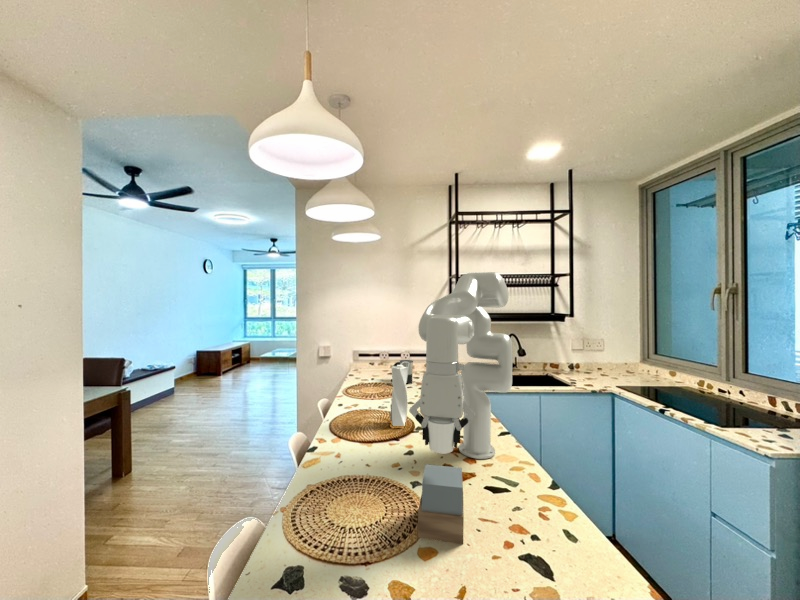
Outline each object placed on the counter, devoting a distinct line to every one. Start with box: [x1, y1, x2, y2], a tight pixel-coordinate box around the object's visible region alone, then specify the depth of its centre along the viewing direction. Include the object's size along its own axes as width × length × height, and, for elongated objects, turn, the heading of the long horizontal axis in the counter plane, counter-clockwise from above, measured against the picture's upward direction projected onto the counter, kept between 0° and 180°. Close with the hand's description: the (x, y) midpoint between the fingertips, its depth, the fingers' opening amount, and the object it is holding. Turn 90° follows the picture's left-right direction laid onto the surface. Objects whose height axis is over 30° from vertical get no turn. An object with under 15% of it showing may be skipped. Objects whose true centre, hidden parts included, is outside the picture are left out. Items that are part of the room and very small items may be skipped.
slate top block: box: [421, 464, 464, 515], centre depth 76 cm, size 9×9×6 cm
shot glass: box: [427, 417, 455, 455], centre depth 76 cm, size 7×7×7 cm
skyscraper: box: [389, 361, 410, 426], centre depth 139 cm, size 8×8×28 cm
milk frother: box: [390, 359, 414, 384], centre depth 215 cm, size 14×16×15 cm
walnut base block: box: [417, 494, 465, 545], centre depth 76 cm, size 10×10×6 cm
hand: (441, 443), depth 76 cm, fingers closed on shot glass, 6 cm apart
